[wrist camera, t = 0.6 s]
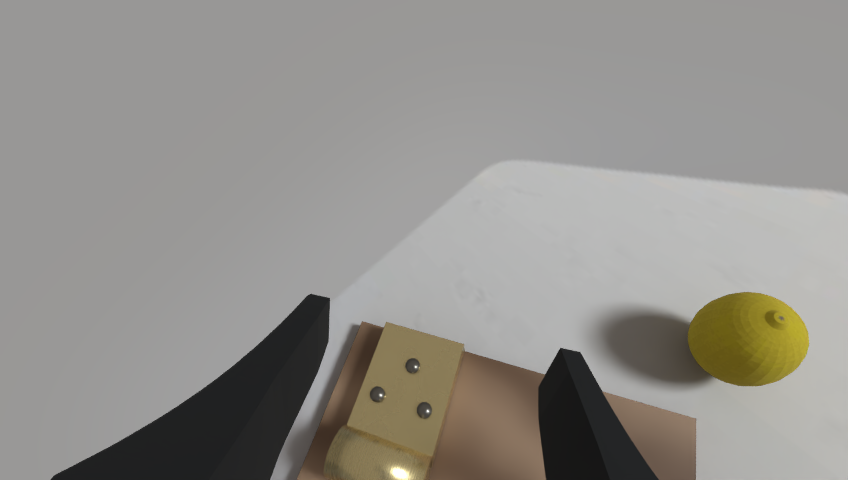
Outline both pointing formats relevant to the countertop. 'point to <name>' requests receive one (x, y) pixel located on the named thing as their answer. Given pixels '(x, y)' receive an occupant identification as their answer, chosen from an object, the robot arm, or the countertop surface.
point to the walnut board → (501, 423)
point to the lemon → (748, 339)
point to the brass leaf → (398, 409)
